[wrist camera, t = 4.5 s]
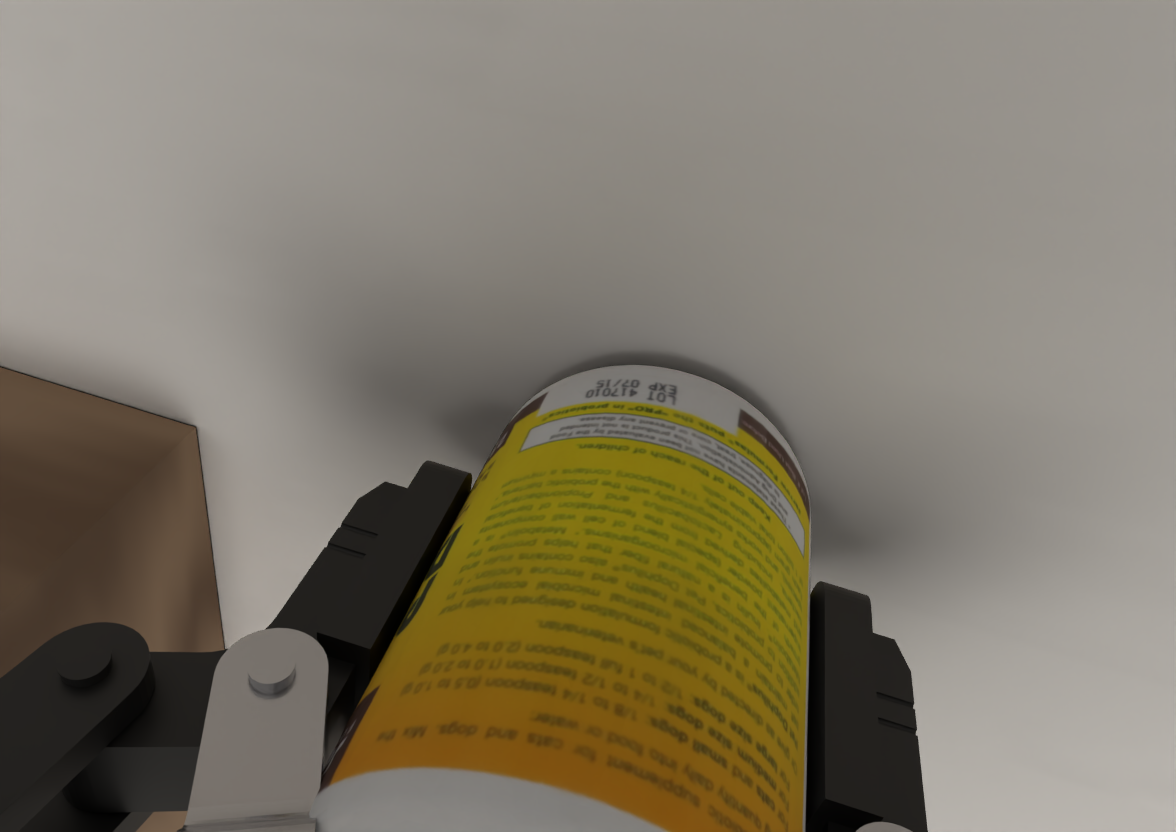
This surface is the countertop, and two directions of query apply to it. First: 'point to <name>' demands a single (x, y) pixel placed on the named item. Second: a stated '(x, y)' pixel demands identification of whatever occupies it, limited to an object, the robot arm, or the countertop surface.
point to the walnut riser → (101, 527)
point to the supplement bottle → (601, 630)
